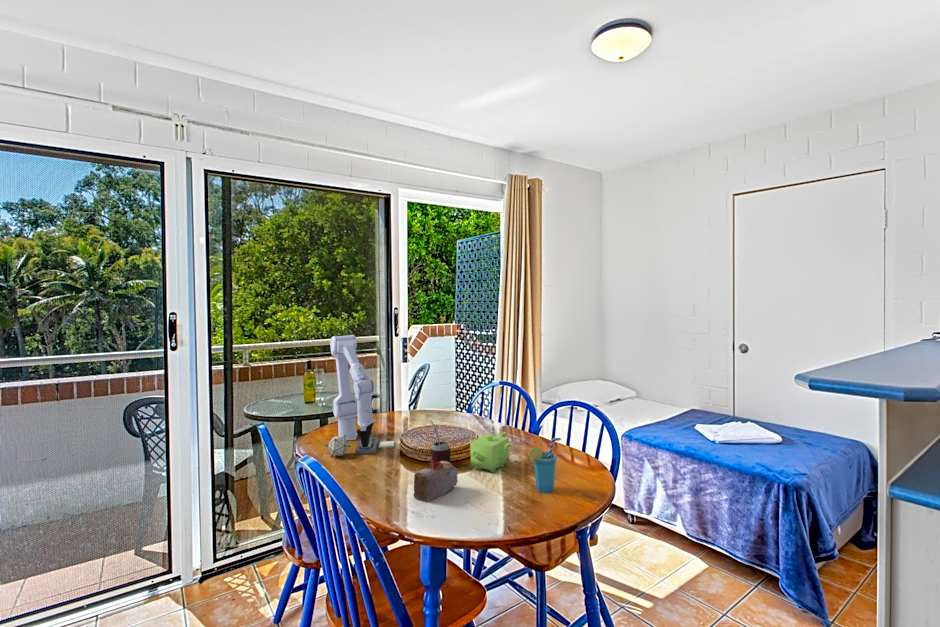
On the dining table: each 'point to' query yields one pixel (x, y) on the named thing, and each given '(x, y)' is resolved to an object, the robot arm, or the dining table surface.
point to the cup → (544, 467)
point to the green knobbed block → (490, 452)
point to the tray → (386, 444)
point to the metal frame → (369, 450)
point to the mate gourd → (440, 450)
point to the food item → (434, 480)
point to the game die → (338, 446)
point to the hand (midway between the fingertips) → (366, 443)
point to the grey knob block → (368, 444)
